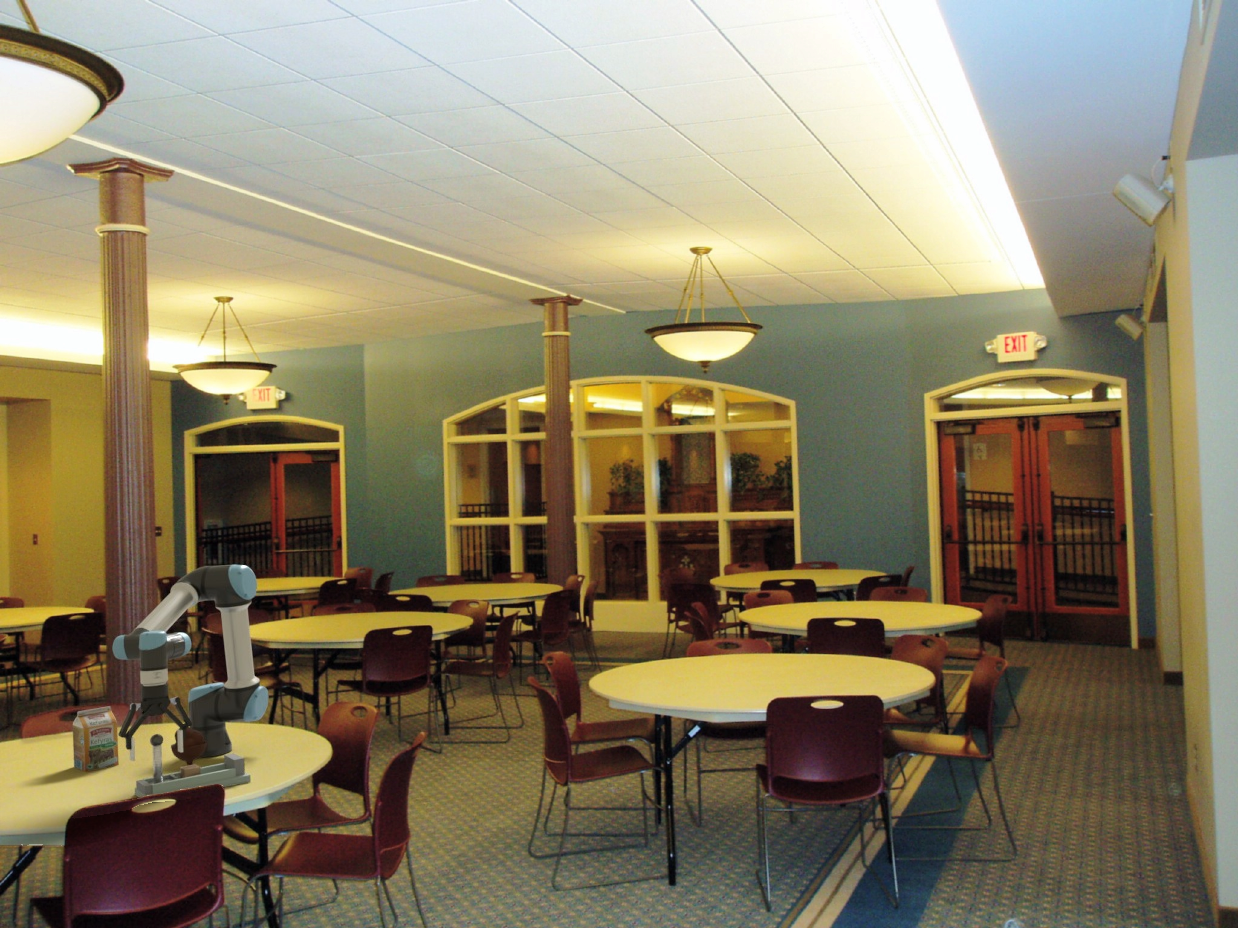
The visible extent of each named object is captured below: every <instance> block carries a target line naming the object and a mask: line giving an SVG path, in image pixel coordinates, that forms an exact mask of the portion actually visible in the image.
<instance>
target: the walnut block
mask: <svg viewBox="0 0 1238 928" xmlns="http://www.w3.org/2000/svg"><path fill="white" fill-rule="evenodd" d="M200 767H201V765H198V764H193V765H188V766H187V765H184V766H179V772H180V779H181V778H186V777H191V776H196V775H200Z"/></svg>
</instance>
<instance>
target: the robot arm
mask: <svg viewBox="0 0 1238 928" xmlns="http://www.w3.org/2000/svg"><path fill="white" fill-rule="evenodd" d="M257 589H258V581H257V576H256V575H255V573H254V571H253V570H252V569H251V567H249V566H248V565H246V564H245V565H243V564H225V565H205V566H200V567H198V568H196V569H194V570H192V571H190V572H188V573H186V574H185V575H184V576H182V577H181V578H180V579H178V580H177V581H176V582H175V583H174V585H173V584H172V586H171V588H170V593H168V595H167V596H166V597H165V598H164V599H162V601H161V602H160V603H159V604H158V605H157V606H156V607H155V608H154V609H152V611H151V612H150V613H149V614H148V615H147V616H146V617H145V618H144V619H143V620H142V621H141V622H140V623H139V624H138V625H137V627H135V628H134V629H133V630H132V632H130V633H129V634H121V635H118V636H116V637H115V639H114V640H113V643H112V653H113V656H114V657H115V658H116V659H118V660H124V661H125V660H127V661H135V660H139V664H140V665H139V666H140V669H139V671H140V672H139V675H140V684H141V686H140V703H133V702H130V704H129V708H128V712H127V714H126V717H125V719H124V721H123V724H122V726H121V728H120V730H119V732H118V733H117V735H118V736H119V737H120V738H123V739H125V748H126V750H128V751H129V761H132V762H134V761H136V748H135V747H136V745H135V737H133V736H134V735H135V733H136V732H137V730H138V729H140V727H141V725H142V724H143V722H145V720H146V719H147V718H148V717H155V716H163V714H165V715H166V716H167V717H168V718H169V719H170V721H172V722H173V723H174V724H175V725H176V726H177V727H178V728H177V729H176V731H177V739H178V751H179V752H183V740H186V729H187V728H188V727H190V728H191V729H192V730H197V731H199V732H200V733H201V734H202V735H203V737H204V740H206V741H207V746H206V749H205V752H204V753H203V754H202V755H201V756H200V757H199V758H209V757H215V756H221V755H226V754H227V753H229V752H232V751H233V743H232V740H231V738H230V735H229V733H228V730H227V728H226V727H227V726H226V724H227V723H232V722H237V723H238V722H239V723H241V722H242V723H243V722H245V723H248V722H256V721H259V720H261V718H263V716H264V715H265V713H266V710H267V707H268V704H269V691H268V689H267V688H266V687H265V686H263V685H261V681H260V678H259V677H257V676H255V669H254V667H255V666H254V659H253V650H252V649H253V648H252V639H251V629H250V620H249V619H250V618H249V610H248V609H249V606H250V605H252V599H253V598H255V596H256V594H257ZM204 601H214V605H215V608H216V609H217V610H219V611H220V614H221V624H222V625H221V626H222V635H223V645H224V655H225V665H226V672H227V674H226V675H227V681H226V682H225V683H224V682H214V683H213V682H212V683H208V684H204V685H200V686H196V687H193V688H191V689H190V690H189V692H188V700H187V701H188V702H187V704H188V713H187V712H186V711H185V709H184V707H183V706H182V704H181V703H182V702H181V698H180V697H179V696H174V697H172V698H170V697H169V695H170V693H169V683H168V681H169V673H168V671H169V670H168V661H170V660H173V659H174V660H175V659H179V658H182V657H183V656H186V655H187V654H188V653H189V652H190V650H191V649H192V641H191V637H190V636H189V635H188V634H187V633H186V632H178V631H176V632H172V633H167V632H168V630H169V629H170V628H171V627H172V626H173V625H174V623H176V622H177V621H178V619H179V618H180V617H181V616H182V615H183V614H184V613H185V612H186V611H187V610H188V609H191V608H193V607H194V606H196V605H197V604H198V603H199V602H204ZM171 704H172V705H174V707H175V709H176V710H177V712H178V714H179V715H180V717H181V718H182V720H183V722H182V721H181V720H180V719H179V718H178V717H177V716H176V715H175V714H174V713H173V712H172V711H171V710H170V709H169V706H170V705H171ZM139 709H141V710H142V711H141V713H140V714H139V716H138V717H137V719H135V720H134V723H132V721H133V719H134V717H135V714H136V712H137V711H138V710H139ZM131 723H132V725H131ZM179 728H180V729H179ZM199 758H198V759H199Z"/></svg>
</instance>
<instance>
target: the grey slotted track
mask: <svg viewBox="0 0 1238 928" xmlns="http://www.w3.org/2000/svg"><path fill="white" fill-rule="evenodd" d="M223 757H224V762H221V763H216V764H211V765H207V766H206V765H205V766H202V767H201V766H200V775H196V776H191V777H186V778H181V779H180V771H177V772H176V771H175V772H171V773H170V772H169V773H166V774H162V775H163V779H166V778H169V774H173V775H175V776H177V777H179V779H176V780H171V781H166V782H161V783H156V784H150V783H148V782H151V781H154V776H150V777H146V778H142V779H140V780H139V779H138V780H135V784H136V785H135V787H134V796H136V797H137V798H139V797H143V796H147V795H155V794H163V793H167V792H173V791H178V790H180V789H188V788H195V787H199V786H207V785H214V784H221V785H223V786H225V787H224V788H226V787H232V786H235V785H240V784H246V783H250V782H251V774H249V773H247V772H245V757H244V756H241V755H238V754H237V753H229V754H223Z"/></svg>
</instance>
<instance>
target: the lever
mask: <svg viewBox="0 0 1238 928" xmlns="http://www.w3.org/2000/svg"><path fill="white" fill-rule="evenodd" d="M149 742H150V743H149V744H150V745H151V746H152V766H153V768H152V769H153V777H154V781H151V782H148V783H150V784H156V783H161V782H166V781H171V780H176V779H179V777H177V776H175V775H173V774H170V773H168V774H169V778H166V779H163V775H164V774H163V756H162V755H163V754H162V744H163V743H164V737H163V736H162V734H160V733H156V734H155V733H154V734H153V735H152V736H151V737H150V738H149Z"/></svg>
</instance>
